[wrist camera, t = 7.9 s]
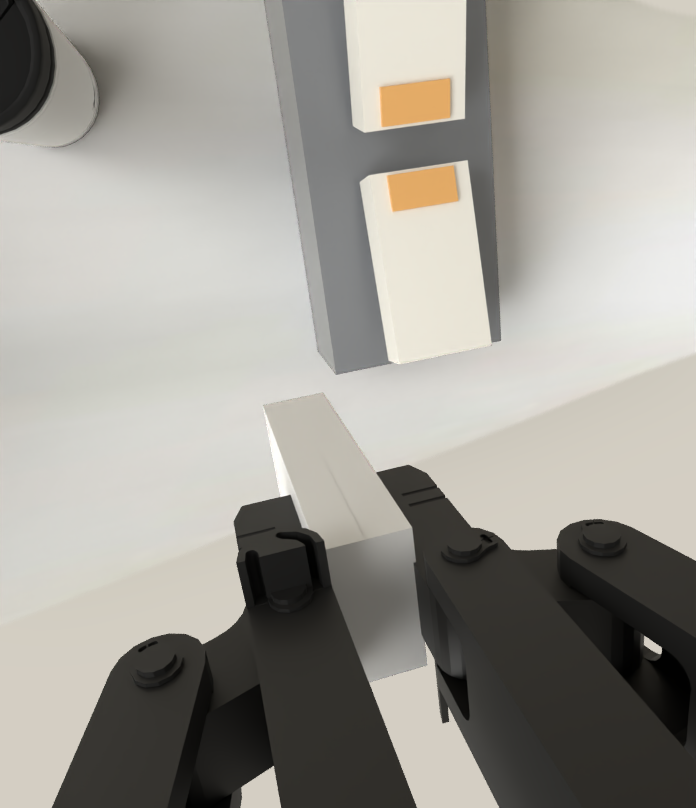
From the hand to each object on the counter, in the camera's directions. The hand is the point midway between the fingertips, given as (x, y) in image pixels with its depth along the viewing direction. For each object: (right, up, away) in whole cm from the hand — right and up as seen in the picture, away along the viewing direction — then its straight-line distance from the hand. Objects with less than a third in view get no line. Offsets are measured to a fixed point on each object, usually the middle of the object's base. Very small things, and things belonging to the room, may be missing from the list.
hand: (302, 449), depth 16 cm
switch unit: (+3, +19, +29) cm, 35 cm away
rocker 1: (+4, +23, +20) cm, 30 cm away
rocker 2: (+6, +10, +25) cm, 28 cm away
